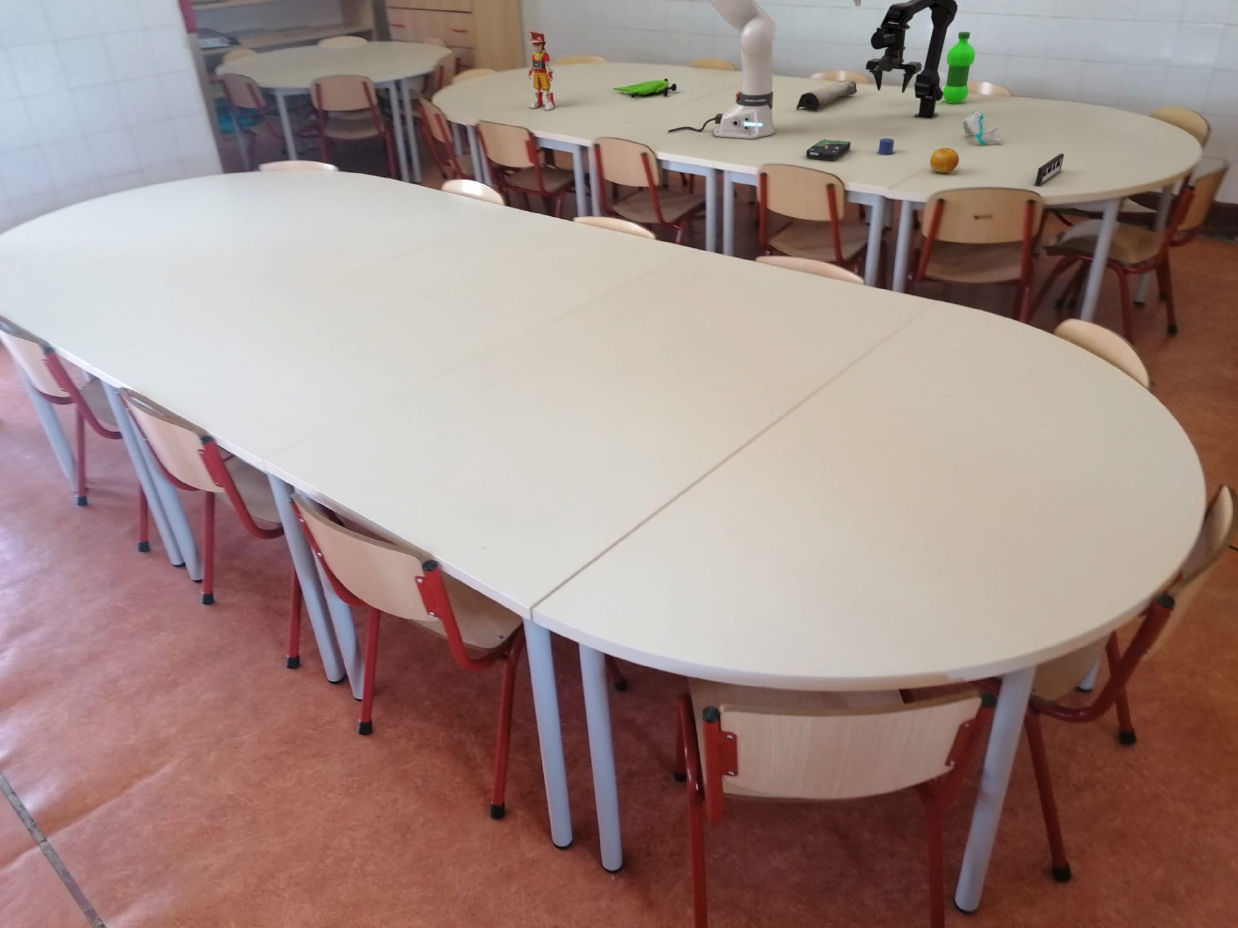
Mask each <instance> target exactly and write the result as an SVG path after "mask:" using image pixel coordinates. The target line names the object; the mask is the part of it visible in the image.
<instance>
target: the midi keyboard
mask: <svg viewBox="0 0 1238 928" xmlns="http://www.w3.org/2000/svg"><path fill="white" fill-rule="evenodd" d="M1064 157H1065V153H1059V154H1058V155H1056V156H1055V157H1052V159H1051V160H1049V161H1047V162H1045V164H1042V165H1041V166H1039V167H1038V169H1037V175H1036V179H1035V186H1040V185H1042V183H1044V182H1045V181H1047V180H1048V179H1049V178H1051V177H1052V176H1054V175H1055V174H1056V173H1058V172H1060V171H1061V170H1062V165H1063V161H1064Z"/></svg>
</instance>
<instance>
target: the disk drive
mask: <svg viewBox="0 0 1238 928" xmlns="http://www.w3.org/2000/svg"><path fill="white" fill-rule="evenodd" d="M850 149H851V141H846V140H837V139H836V140H832V139H826V138H825V139H822V140H819V141H818V142H816V143H815V144H814V145H812V146H810V147H809V148H807V149H806V152H805V153H806V156H805V157H806V158H808V159H815V160H825V161H836V160H838V158H840V157H842V156H843V155H844V154H846V153H847V152H848V151H849V150H850Z"/></svg>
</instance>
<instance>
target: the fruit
mask: <svg viewBox="0 0 1238 928" xmlns="http://www.w3.org/2000/svg"><path fill="white" fill-rule="evenodd" d="M959 163H960V156H959V154H958V152H957V151H956V150H955V149H953V148H951V147H942V148H938V149H936V150H934V151H933V153H932V154H931V155H930V159H929V166H930V168H931V169H932V170H933V171H934V172H936V173H939V174H940V173H943V174H944V173H945V174H946V173H951V172H953V171H954V170H956V168H957V167H958V165H959Z"/></svg>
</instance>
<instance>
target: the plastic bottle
mask: <svg viewBox="0 0 1238 928" xmlns="http://www.w3.org/2000/svg"><path fill="white" fill-rule="evenodd" d="M970 36H971V32H970V31H959V32H958V36H957V39H958V42H957V43H956V44H954V45H953V46H952V47H951V48H950V49H949V50H948V52H947V54H946V63H947V64H948V69H947V70H948V71H947V76H946V77H947V78H946V84H945V85H944V87H943V90H942V92H943V96H942V98H943V99H944V100H945V101H946V102H947V103H948V104H960V103H961V102H963V101H964V100H966V98H967V96H968V95H969V85H968V79H969V73H970V67H971V65H972V64H973V63H974V61H975V57H976V51H975V49H974V47H972V45H971V44H970V43H969V42H968V41H969V39H970V38H971V37H970Z"/></svg>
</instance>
